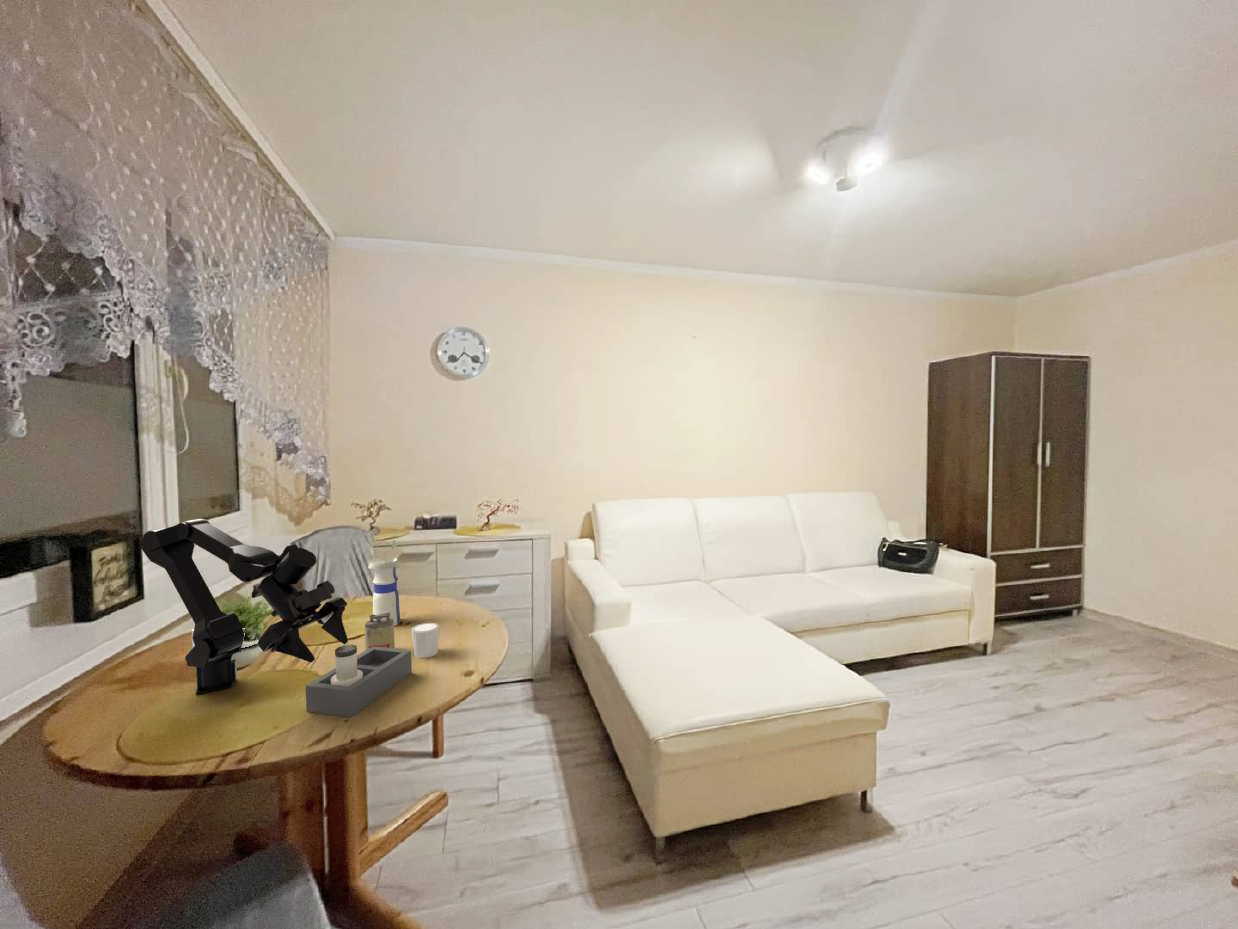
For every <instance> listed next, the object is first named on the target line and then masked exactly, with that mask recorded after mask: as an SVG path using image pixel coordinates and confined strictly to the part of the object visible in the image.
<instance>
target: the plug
mask: <svg viewBox="0 0 1238 929" xmlns="http://www.w3.org/2000/svg"><path fill="white" fill-rule="evenodd" d="M357 655H358V646H357V645H356V644H343V645H341V646H339V647H336V648H335V649H334V656H335V668H336V674H335V675H334V676H333V677H332V678H331V684H332V685H340V686H348V687H349V686H351V685H352V684H354V683H355V682H357V681H358V680H360V679H361V678H363V672H362V671H361V670H357Z"/></svg>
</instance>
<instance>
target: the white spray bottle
mask: <svg viewBox="0 0 1238 929" xmlns="http://www.w3.org/2000/svg"><path fill="white" fill-rule="evenodd" d="M389 544H390V545H391V550H394V549H395V550H398V546H399V542H396V540H395V539H393V541H392V542H389ZM398 560H399V559H398V558H396V557H394V559H393V561H391V562H386V561H385V559H384V558H381V557H380V558H376V559H373V560H371V561H370V562H369V565H368V567H367V569H370V570H373V572H374V578H373V580H372V583H373V590H374V591H373V594H372V615H379V614H385V613H387V612H390V618H391V619H393V621H394V627H395V626H397V625H399V624H400V623H401V611H400V595H399V591H398V580H399V577H398V576H397V573H396V569H398V568H399V567H400V566H399V561H398ZM382 619H387V618H382ZM373 620H376V619H373Z"/></svg>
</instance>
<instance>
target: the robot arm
mask: <svg viewBox="0 0 1238 929" xmlns="http://www.w3.org/2000/svg"><path fill="white" fill-rule="evenodd" d="M195 545H196V546H198V547H199V548H201V549H203V550H205V551H206V552H207V553H210V554H211V555H213V556H214V557H217V559H219V560H221V561H223V562H224V563H225V564H227V566H228V571H229V572H230V573H231V575H234V577H236V578H237V579H238V580H240V581H241V582H243V583H249V582H253V581H257V580H259V579H262V578H263V579H262V580H260V582H259V583H256V584H253V586H252V588H253V589H252V592H251V598H252V599H255V598H258V597H262V598H263V599H264V600H265V601H266V602H267V603H268V605H269V606H270V607H271V608H272V609H273V611H272V612H271V613H270V614H271V616H272V617H273V618H275V617H279V618H280V619H281V620H280V621H277V622H275V623H272V624H270V625H269V626H268V627H267V628H266V630H265V631H264V632H263V633H262V634H261V635H260V637H259V638H258V639H257V640H258V641H257V642H258V647H259V648H260V649H261V650H262V652H263V653H266V652H269V651H270V652H271V653H275V652H277V653H280V654H284V655H286V656H287V655H289V656H291V657H295V658H298V659H300V660H303V661H305V662H308V663H313V662H314V661H315V660H316V657H315V656H314V654H313V653H312V651H311V650H310V649H309V647H308V646H307V645H306V644H305V642H304V641H303V640H302V639H301V637H300V630H301V629H303V628H306V627H307V626H309V625H311V624H314V623H316V622H317V623H318V624H319V625H321V627H320V628H321V629H322V630H323V631H325V632H326V633H328V634H329V635H330V636H331V637H333V638H334V639H335V640H337V641H338V642H340V643H341V644H343V645H347V643H348V642H349V639H348V636H347V633H346V632H347V631H346V629H345V627H344V623H343V622H344V621H343V613H344V612H345V611H346V607H347V605H348V602H347V601H346V600H345V599H344V598H343V597H338V596H337V597H334V598H333V595H332V594H334V593H335V591H336V589H335V587H334V585H333V584H332V583H331V582H330V581H329V580H325V581H322V582H320V583H318V584H317V585H316V588H313V589H311V590H309V591H308V590H306V589H302V590H300V589H299V588H298V587H297V586H296V585H297V584H299V583H301V581H302V580H303V579H304V578H305V577H306V576H307V574H308V573H309V572H310V571H311V570H312V568H313V567H315V565H316V564H317V556H316V555H315V553H313V551H310V550H308V549H306V548H303V547H298V546H297V544H296V543H295V544H290V545H286V547H285V548H284V549H283V551H282V553H281V554H276V552H274V551H273V550H270V549H267V548H265V547H262V546H255V545H249V544H245V543H243V542H242V541H240V540H238V539H237V538H235V537H234V536H233V537H232V536H231V535H230V534H228V533H225V532H224V531H223V530H222V529H221V530H220V529H219V528H217V527H216V526H214V525H212V524H211V523H210V522H209V521H208V520H207V519H204V518H197V519H190V520H185V521H182V522H180V523H178V524H175V525H173V526H170V527H166V528H165V527H164V528H159V529H158V528H157V529H151V530H147V531H146V532H145V533H144V534H143V536H142V537H141V539H140V540H139V547H140V549H141V551H142V552H143V554H145V556H146V558H148V561H150V562H151V563H153V564H155V565H157V566H159V567H161V568H162V569H164V570H165V571H166V573H167V575H168V577H169V579H170V580H171V583H172V584H173V586H174V587H175V590H176V591H177V593H178V594H179V597H180V600H182V601H181V602H183V605H184V606H185V608H186V609H187V612H188V613H189V616H190V617H191V619H192V621H193V623H194V632H193V637H192V636H191V640H192V639H193V641H194V644H195V646H194V647H193V648H192V647H191V649H190V651H189V652H188V653H187V654H186V655H185V657H184V658H185V662H186V666H188V667H194V668H195V671H196V690H195V693H196V694H195V695H198V694H197V693H201V694H203V693H204V694H205V693H209V691H210V692H214V691H219V689H220V690H223V689H222V688H224V689H228V688H227V687H229V688H232V687H233V685H234V682H236V681H237V678H238V670H237V669H238V668H237V664H238V663H237V659H236V658H235V659H234V655H235V654H238V653H240V652H241V651H242V644H243V640H244V637H245V633H244V630H243V629H245V626H244V625H243V624H242V623H241V622H240V618H239V617H238V615H237V614H236V613H234V612H233V613H231V614H227V613H226V612H223V611H222V610H221V609H220V607H219V605H218V603H217V601H216V600H215V597H214V595H213V594H212V592H211V590H210V589H209V586H208V585H207V583H206V580H205V579H204V578H203V576H202V574H201V572H200V570H199V568H198V567H197V565H196V563H195V561H194V559H193V554H194V550H195ZM327 600H328V601H327ZM324 601H326V602H325V603H324V604H323V605H322V603H323V602H324ZM320 607H321V608H320ZM317 609H319V610H318V611H317Z"/></svg>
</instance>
